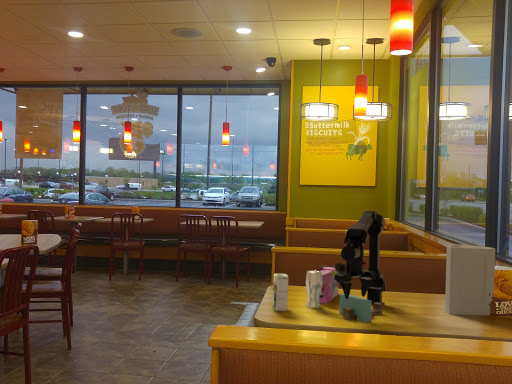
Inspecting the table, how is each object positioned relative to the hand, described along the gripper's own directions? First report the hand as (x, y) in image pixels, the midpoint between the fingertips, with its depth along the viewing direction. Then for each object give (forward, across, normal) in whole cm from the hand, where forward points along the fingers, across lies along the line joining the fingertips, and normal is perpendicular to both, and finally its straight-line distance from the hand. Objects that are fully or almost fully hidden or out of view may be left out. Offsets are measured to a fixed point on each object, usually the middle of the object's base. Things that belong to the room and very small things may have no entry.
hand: (355, 297), depth 177 cm
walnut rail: (+8, -5, 0) cm, 9 cm away
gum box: (+8, -14, -31) cm, 35 cm away
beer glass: (+8, +3, -21) cm, 23 cm away
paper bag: (+8, -52, +15) cm, 55 cm away
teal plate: (+8, 0, 0) cm, 8 cm away
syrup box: (+8, +19, -24) cm, 32 cm away
